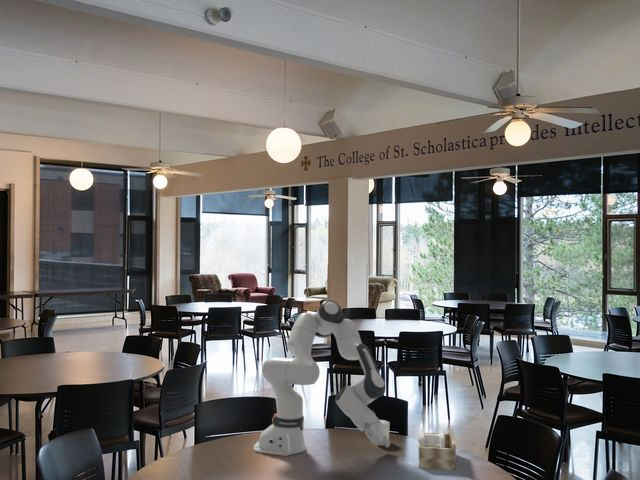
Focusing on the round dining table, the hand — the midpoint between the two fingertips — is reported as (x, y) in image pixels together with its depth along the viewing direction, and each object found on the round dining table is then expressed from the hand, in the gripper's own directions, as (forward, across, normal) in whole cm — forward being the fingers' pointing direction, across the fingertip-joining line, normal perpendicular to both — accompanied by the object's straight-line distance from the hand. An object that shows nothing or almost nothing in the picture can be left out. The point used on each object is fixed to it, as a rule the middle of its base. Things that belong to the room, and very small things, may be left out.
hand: (388, 445), depth 254 cm
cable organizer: (+16, 0, -9) cm, 18 cm away
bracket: (+17, +1, -10) cm, 20 cm away
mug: (0, +20, +7) cm, 21 cm away
